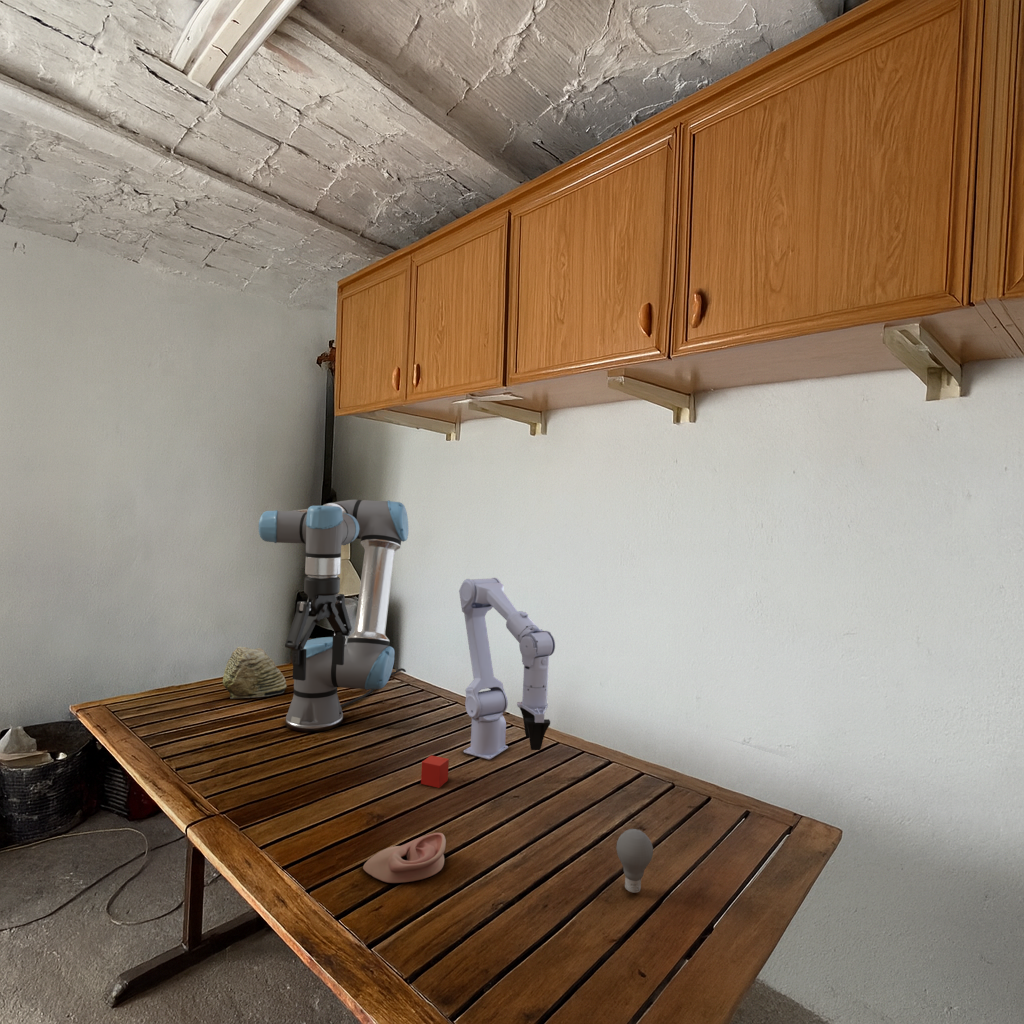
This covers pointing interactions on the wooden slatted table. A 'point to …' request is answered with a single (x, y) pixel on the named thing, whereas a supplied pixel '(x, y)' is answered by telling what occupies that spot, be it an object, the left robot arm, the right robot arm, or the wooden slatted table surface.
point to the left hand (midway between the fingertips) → (319, 671)
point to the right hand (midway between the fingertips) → (532, 742)
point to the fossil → (252, 674)
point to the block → (434, 771)
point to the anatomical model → (409, 860)
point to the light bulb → (634, 857)
